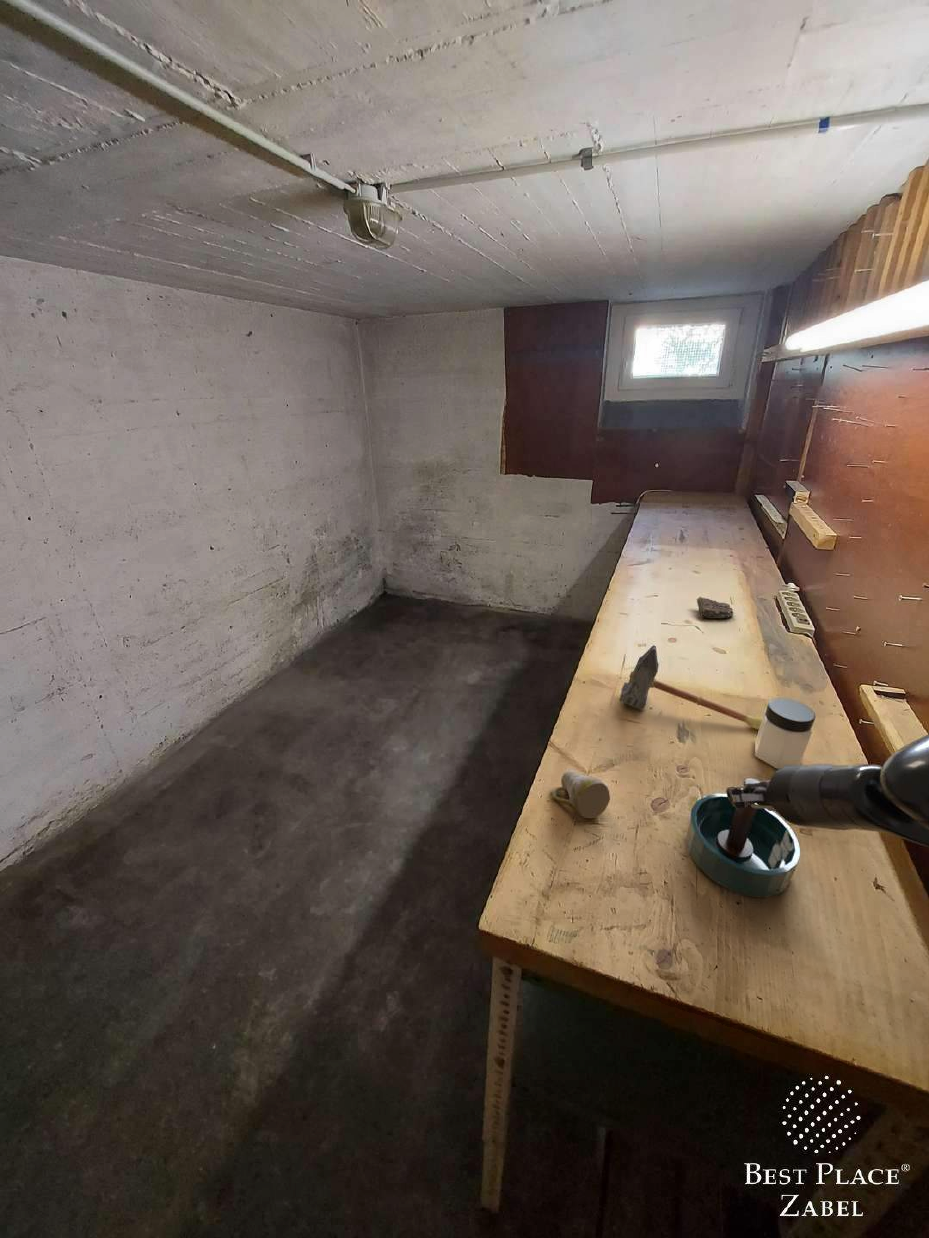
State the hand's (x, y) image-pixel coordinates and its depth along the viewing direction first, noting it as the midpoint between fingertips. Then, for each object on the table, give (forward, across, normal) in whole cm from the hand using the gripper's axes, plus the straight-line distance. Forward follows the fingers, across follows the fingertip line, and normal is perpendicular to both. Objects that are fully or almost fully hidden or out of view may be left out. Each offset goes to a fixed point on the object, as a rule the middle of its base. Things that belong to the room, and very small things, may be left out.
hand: (739, 793), depth 76 cm
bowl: (+8, -1, +10) cm, 13 cm away
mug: (+18, +21, 0) cm, 28 cm away
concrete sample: (+69, -47, -52) cm, 99 cm away
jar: (+23, -24, -5) cm, 33 cm away
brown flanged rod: (+6, 0, +8) cm, 10 cm away
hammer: (+34, -12, -16) cm, 40 cm away
